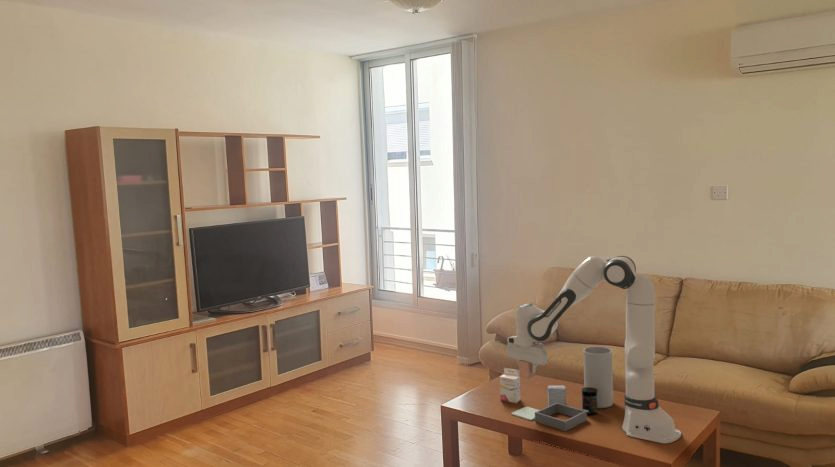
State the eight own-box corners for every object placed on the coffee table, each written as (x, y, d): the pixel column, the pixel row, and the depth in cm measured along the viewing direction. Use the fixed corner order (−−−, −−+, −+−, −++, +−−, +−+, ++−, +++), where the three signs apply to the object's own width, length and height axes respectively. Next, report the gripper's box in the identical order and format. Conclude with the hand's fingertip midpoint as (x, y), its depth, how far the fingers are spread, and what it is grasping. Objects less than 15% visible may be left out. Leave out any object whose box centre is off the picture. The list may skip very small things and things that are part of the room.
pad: (546, 413, 274) (546, 412, 274) (530, 420, 267) (530, 419, 267) (526, 407, 282) (526, 406, 282) (511, 414, 275) (511, 413, 275)
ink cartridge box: (500, 400, 293) (498, 370, 291) (504, 397, 297) (503, 367, 295) (516, 403, 288) (515, 372, 287) (521, 399, 292) (520, 369, 291)
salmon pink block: (535, 375, 273) (535, 360, 272) (528, 378, 269) (527, 362, 269) (526, 373, 276) (526, 358, 276) (519, 376, 273) (518, 360, 272)
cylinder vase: (618, 404, 281) (618, 350, 279) (601, 410, 274) (599, 355, 272) (596, 396, 292) (595, 345, 289) (579, 403, 285) (577, 350, 282)
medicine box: (565, 403, 285) (564, 385, 284) (566, 407, 281) (566, 388, 280) (547, 403, 286) (547, 385, 285) (548, 407, 282) (548, 388, 281)
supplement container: (600, 412, 273) (600, 389, 272) (593, 416, 268) (593, 393, 267) (586, 408, 278) (585, 386, 277) (579, 413, 273) (578, 390, 272)
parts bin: (586, 420, 265) (586, 411, 264) (565, 431, 254) (565, 421, 254) (556, 411, 276) (556, 402, 276) (535, 421, 266) (534, 412, 266)
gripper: (550, 342, 266) (551, 374, 267) (513, 335, 281) (514, 364, 282) (541, 345, 262) (542, 377, 263) (504, 337, 277) (505, 368, 278)
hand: (527, 370), depth 273 cm, fingers closed on salmon pink block, 5 cm apart
